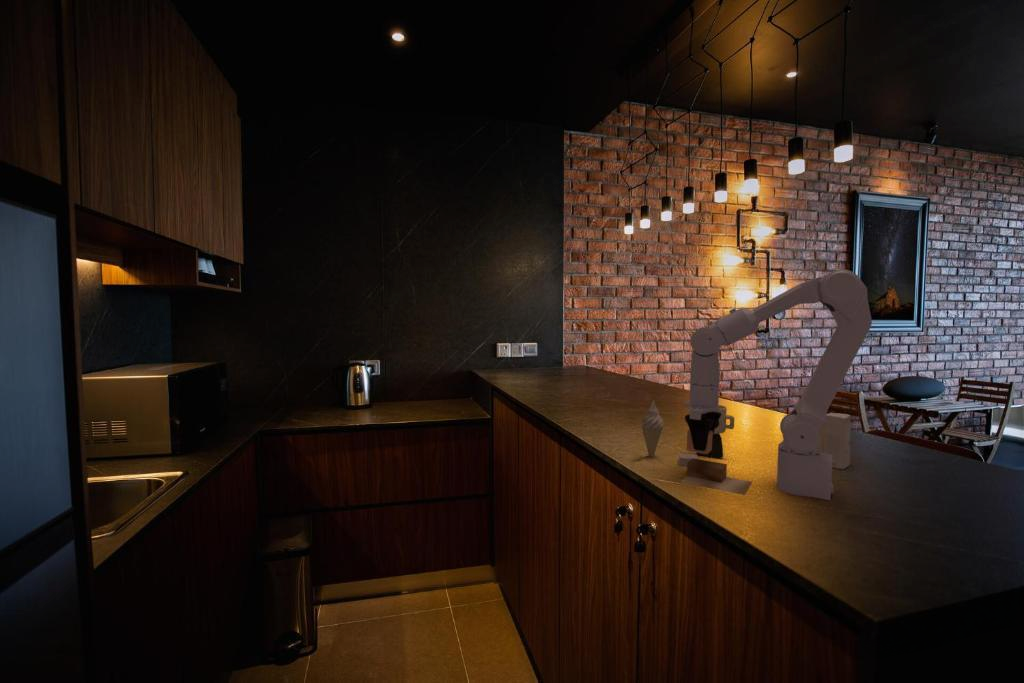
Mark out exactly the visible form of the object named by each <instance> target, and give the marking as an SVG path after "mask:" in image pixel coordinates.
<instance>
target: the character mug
mask: <svg viewBox="0 0 1024 683" xmlns="http://www.w3.org/2000/svg"><path fill="white" fill-rule="evenodd" d="M718 405H719V410H718V411H713V412H719V413H721V417H720V418H719V420H718V422H717V424H716V427H715V430H714V434H713V438H712V450H711V451H710V452H709V453H708V454H702V453H697V452H695V453H696V454H695V455H697V456H698V457H702V458H703V457H704V456H705V457H706V456H707V458H709V459H716V460H721V459H722V458H723V457H724V449H723V439H722V436H721V435H722V434H724V433H726V430H728V429H729V430H734V429H735V416H734V415H729V414H727V406H725V405H722V404H718ZM688 415H690V410H689V411H688ZM727 420H729V424H727ZM705 457H704V458H705Z"/></svg>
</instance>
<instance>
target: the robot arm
mask: <svg viewBox="0 0 1024 683" xmlns="http://www.w3.org/2000/svg"><path fill="white" fill-rule="evenodd" d="M816 303H820V304H822V305H823V306H824V307H825V308H826V309H828V310H829V311H830V314H831V315H832V318H833V319H834V321H835V322H836V324H837V326H836V328H835V330H834V332H833V333H832V336H831V338H830V340H829V342H828V343H827V346H826V348H825V350H824V351H823V353H822V356H821V358H820V360H819V361H818V364H817V366H816V368H815V370H814V371H813V373H812V376H811V377H810V379H809V381H808V383H807V385H806V387H805V390H804V391H803V393H802V395H801V396H800V398H799V400H798V401H797V402H796V404H795V405H794V407H793V409H791V411H790V412H789V413H788V414H786V415H784V416H783V417H782V419H781V420H780V424H779V427H780V428H779V429H780V432H781V434H782V441H781V442H780V443H778V445H777V447H778V448H777V468H776V469H777V470H776V471H777V472H776V474H777V475H776V488H777V489H778V490H779V491H782V492H784V493H788V494H790V495H795V496H800V497H809V498H815V499H821V500H826V501H831V495H834V483H832V480H833V478H832V477H833V476H832V475H833V467H832V458H833V455H830V454H825V453H824V452H822V451H821V450H822V449H821V448H820V446H821V444H822V443H821V442H822V438H823V437H822V429H823V428H824V423H825V419H826V415H827V414H828V413H827V412H828V410H829V408H830V406H831V404H832V402H833V400H834V398H835V397H836V395H837V394H838V391H839V388H840V387H841V385H842V383H843V381H844V379H845V377H846V375H847V374H848V371H849V369H850V367H851V366H852V364H853V362H854V360H855V359H856V356H857V354H858V353H859V350H860V348H861V346H862V344H863V342H864V341H865V339H866V337H867V335H868V333H869V332H870V329H871V327H872V324H873V321H872V315H871V314H872V313H871V310H870V305H869V299H868V288H867V286H866V284H864V282H863V280H862V279H861V278H860V277H859V276H858V275H857V274H856V272H853V271H851V270H848V269H836V270H833V271H830V272H829V273H827V274H825V275H823V276H822V275H821V276H818V277H815V278H812V279H810V280H806V281H804V282H802V283H798V284H796V285H795V286H793V287H792V288H789V289H787V290H785V291H784V292H782V293H780V294H778V295H777V296H774V297H773V298H771V299H769V300H767V301H765V302H764V303H762V304H759V305H758V306H756V307H754V308H753V309H750V308H746V307H739V308H737V309H736V308H735V307H733V308H732V309H730V310H729V311H728V312H729V313H728V314H726V315H724V316H722V317H721V318H718V319H717V320H714V321H713V320H709V321H708V322H707V325H708V327H707V326H703V327H702V326H701V327H699V328H698V329H697V330H695V331H694V332H693V333H692V335H691V337H690V341H689V342H690V346H691V348H692V352H691V356H690V357H691V362H690V372H689V374H690V375H689V377H690V379H689V381H690V382H689V401H686V402H684V403H683V407H686V408H689V411H690V415H689V414H686V415H685V416H684V420H685V423H686V425H687V426H688V430H690V432H691V437H692V442H693V447H694V449H695V450H700V451H705V449H706V446H707V441H708V435H709V431H710V430H711V431H713V434H714V430H715V427H716V424H717V422H718V420H719V418H720V417H721V413H719V412H713V411H718V410H719V405H720V404H719V397H720V393H719V392H720V372H721V371H720V370H721V369H720V368H721V363H720V362H719V358H720V356H719V354H720V352H719V350H720V348H721V347H722V346H725V347H728V346H731V345H732V344H735V343H736V342H737V343H738V341H741V340H743V339H745V338H747V337H749V336H751V335H753V334H754V333H757V331H758V329H759V326H760V323H762V322H764V321H766V320H768V319H771V318H772V317H775V316H776V315H777V316H778V315H779V314H781V313H783V312H785V311H787V310H789V309H791V308H793V307H796V306H798V305H801V304H802V305H805V304H816ZM712 438H713V437H712Z"/></svg>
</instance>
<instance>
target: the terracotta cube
mask: <svg viewBox="0 0 1024 683" xmlns="http://www.w3.org/2000/svg"><path fill="white" fill-rule="evenodd" d="M712 437H713V431H711V430H710V431H709V435H708V441H707V446H706V449H705V451H700V450H695V449H694V447H693V442H692V437H691V432H690V429H688V430H687V433H686V451H687V452H691V453H696V452H697V453H702V454H708V453H709V452H710V451H711V450H712Z"/></svg>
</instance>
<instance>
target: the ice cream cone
mask: <svg viewBox="0 0 1024 683" xmlns="http://www.w3.org/2000/svg"><path fill="white" fill-rule="evenodd" d="M646 413H647V414H646V415H644V416H643V418H642V425H641V429H642V434H643V437H644V438H643V439H644V442H645V445H646V449H647V453H648V457H650V458H654V457H655V453H656V450H657V447H658V445H659V444H658V443H659V441H660V437H661V434H662V431H663V429H664V428H663V427H664V419H663V418H662V417H661V416H660V414H659V409H658V407H657V405H656V403H655V400H654V399H652V401H651V403H650V406H649V407H648V410H647V411H646Z"/></svg>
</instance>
